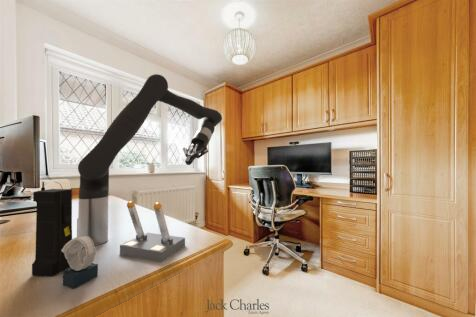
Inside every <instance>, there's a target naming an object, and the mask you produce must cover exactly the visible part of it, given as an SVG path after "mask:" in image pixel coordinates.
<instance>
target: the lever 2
mask: <svg viewBox="0 0 476 317" xmlns="http://www.w3.org/2000/svg"><path fill="white" fill-rule="evenodd" d="M153 209H154V214H155V217H156V220H157V224H158V228H159V231H160V234H161V235H162V239H163V242H165V243H169V240H170V237H169V236H170V234H169V230H168V224H167V221H166V217H165V214H164V211H163V205H162V204H161V202H155V203H154V204H153Z"/></svg>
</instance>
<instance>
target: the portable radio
mask: <svg viewBox="0 0 476 317" xmlns="http://www.w3.org/2000/svg"><path fill="white" fill-rule="evenodd" d="M41 183H42V184H41V186H42V187H41V188H40V190H36V191H33V193H32V194H33V197H32V202H35V203H36V216H35V218H36V219H35V221H36V223H35V259H34V261H33V262H32V264H31V275H32V276H34V277H47V278H48V277H54V276H57V275H59V274H60V273H63V272H65V270H66V271H67V270H69V269H71V267H70V265H69V263H68V261H67V259H66V258H65V255H64V253H63V252H62V249H63V247H64V246H65V245H66V243H68V242H69V241H70V240H72V239H73V213H72V212H73V190H72V189H71V188H68V189H67V188H51V189H46V187H45V181H42V182H41ZM71 261H72V260H71Z"/></svg>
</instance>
